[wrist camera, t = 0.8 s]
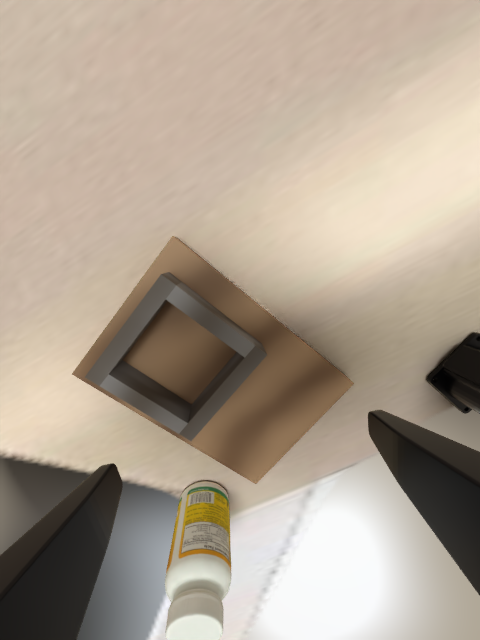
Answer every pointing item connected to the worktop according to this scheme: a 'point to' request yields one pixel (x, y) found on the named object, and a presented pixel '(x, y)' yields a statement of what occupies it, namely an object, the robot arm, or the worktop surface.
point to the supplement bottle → (199, 564)
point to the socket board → (211, 365)
